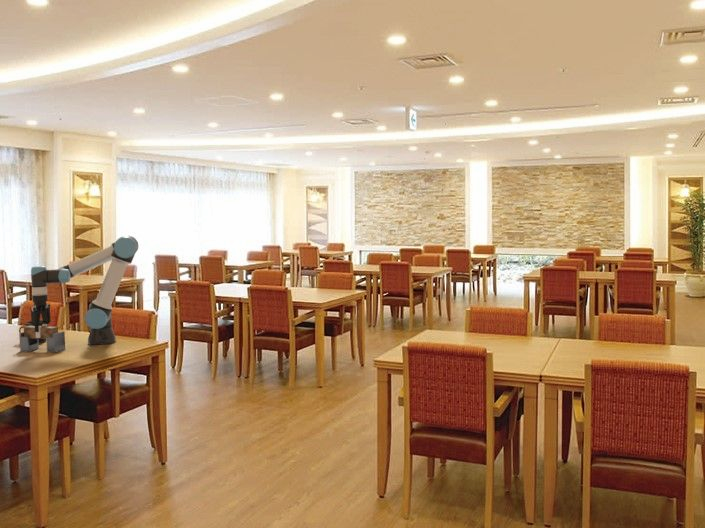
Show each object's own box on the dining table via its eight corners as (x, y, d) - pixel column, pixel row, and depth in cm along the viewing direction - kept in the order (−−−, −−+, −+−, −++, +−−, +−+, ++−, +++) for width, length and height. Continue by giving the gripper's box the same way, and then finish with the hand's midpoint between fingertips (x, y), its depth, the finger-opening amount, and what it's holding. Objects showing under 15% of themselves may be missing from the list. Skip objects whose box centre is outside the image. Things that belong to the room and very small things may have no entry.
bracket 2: (65, 349, 382) (64, 331, 381) (55, 352, 374) (54, 334, 373) (57, 348, 383) (56, 331, 382) (47, 352, 375) (46, 333, 374)
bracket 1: (38, 348, 386) (37, 330, 385) (28, 351, 378) (27, 333, 377) (31, 348, 387) (30, 330, 386) (20, 351, 379) (19, 333, 378)
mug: (47, 342, 403) (46, 322, 402) (19, 345, 397) (18, 324, 396) (47, 339, 413) (46, 319, 412) (20, 342, 407) (18, 321, 406)
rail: (58, 337, 380) (58, 326, 379) (52, 339, 375) (51, 328, 375) (30, 336, 385) (30, 325, 384) (24, 337, 380) (23, 327, 379)
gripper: (44, 292, 388) (47, 333, 389) (22, 296, 370) (24, 339, 372) (56, 292, 386) (58, 334, 388) (34, 296, 368) (36, 340, 370)
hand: (41, 336), depth 380 cm, fingers closed on rail, 5 cm apart
